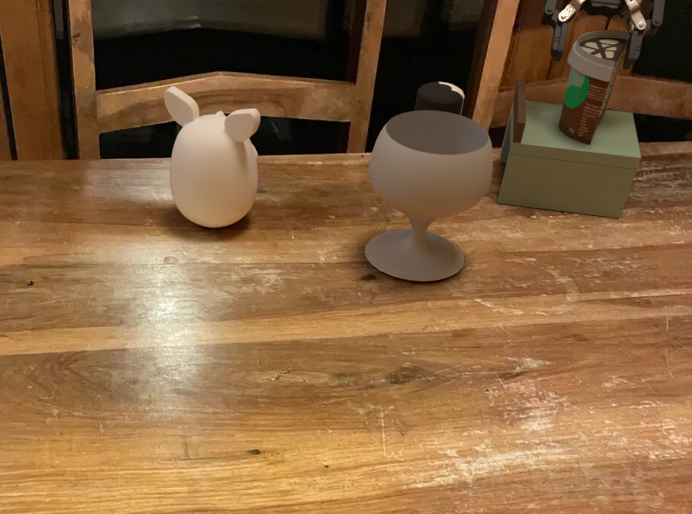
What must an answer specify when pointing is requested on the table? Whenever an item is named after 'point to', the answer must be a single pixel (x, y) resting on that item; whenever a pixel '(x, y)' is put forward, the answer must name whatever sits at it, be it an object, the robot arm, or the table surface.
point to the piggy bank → (212, 162)
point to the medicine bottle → (440, 98)
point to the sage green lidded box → (566, 161)
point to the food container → (591, 82)
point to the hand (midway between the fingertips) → (592, 62)
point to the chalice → (426, 188)
